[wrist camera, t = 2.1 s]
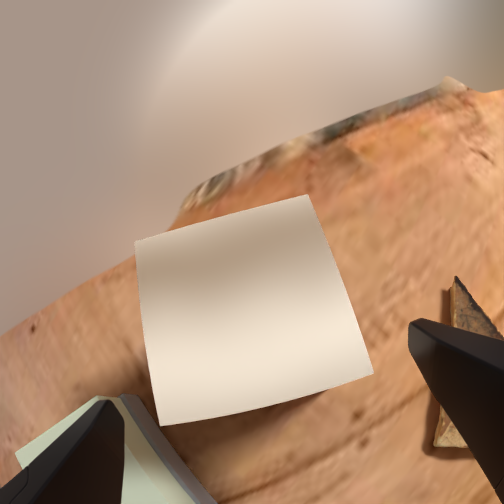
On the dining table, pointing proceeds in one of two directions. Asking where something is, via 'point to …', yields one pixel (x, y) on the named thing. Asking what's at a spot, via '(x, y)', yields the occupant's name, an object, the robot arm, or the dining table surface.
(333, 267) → the maple column
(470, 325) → the shard
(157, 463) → the tower top slab
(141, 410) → the tower bottom slab
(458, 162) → the dining table surface
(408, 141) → the dining table surface
